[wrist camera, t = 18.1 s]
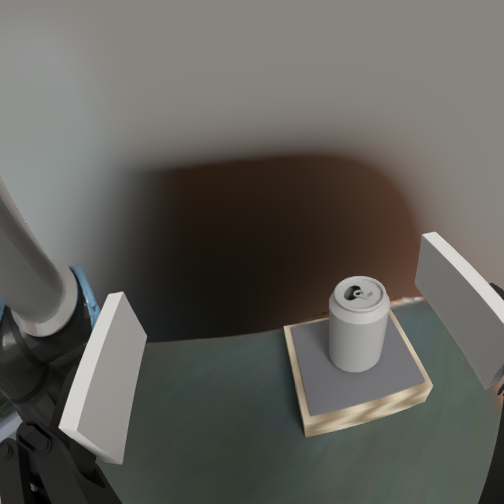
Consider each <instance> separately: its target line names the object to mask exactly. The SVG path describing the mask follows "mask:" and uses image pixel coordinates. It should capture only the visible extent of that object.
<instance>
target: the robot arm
mask: <svg viewBox="0 0 504 504" xmlns="http://www.w3.org/2000/svg"><path fill="white" fill-rule="evenodd" d="M415 285H416V286H417V288H418V289H419V290H420V292H421V293H422V294H423V296H424V297H425V299H426V300H427V301H428V303H429V304H430V305H431V307H432V308H433V309H434V311H435V312H436V314H437V315H438V317H439V318H440V319H441V321H442V322H443V324H444V325H445V327H446V328H447V330H448V331H449V332H450V334H451V335H452V337H453V338H454V340H455V341H456V343H457V344H458V346H459V348H460V349H461V351H462V352H463V354H464V355H465V357H466V359H467V360H468V362H469V363H470V365H471V367H472V368H473V370H474V372H475V373H476V375H477V377H478V378H479V380H480V382H481V383H482V385H483V387H484V389H485V390H486V389H487V388H489V387H491V386H492V385H494V384H496V383H497V382H499V381H500V379H501V378H502V376H503V375H504V291H503V290H502V289H501V288H500V287H498V286H496V285H495V284H493V283H490V284H488V283H487V282H486V281H485V280H484V279H483V278H482V277H481V276H480V274H478V273H477V271H476V270H475V269H474V268H473V267H472V266H471V265H470V264H469V263H468V262H467V261H466V260H465V259H464V258H463V257H462V256H461V255H460V254H459V253H458V252H457V251H455V250H454V249H453V248H452V247H451V246H450V245H449V244H448V243H447V242H446V241H445V240H444V239H443V238H441V237H440V236H439V235H438V234H437V233H436V232H432V233H428V234H423V235H422V240H421V248H420V254H419V261H418V267H417V274H416V279H415ZM146 338H147V335H146V334H145V332H144V330H143V328H142V326H141V325H140V323H139V321H138V319H137V317H136V315H135V313H134V312H133V310H132V308H131V306H130V304H129V302H128V300H127V298H126V296H125V294H124V292H119V293H113V294H109V295H108V297H107V299H106V301H105V303H104V306H103V308H102V310H100V308H99V306H98V304H97V301H96V299H95V296H94V294H93V292H92V289H91V287H90V284H89V282H88V280H87V277H86V275H85V273H84V271H83V269H82V267H81V266H80V265H74V266H69V267H67V266H66V265H65V264H64V263H62V262H60V261H57V260H54V259H49V257H48V256H47V254H46V253H45V251H44V250H43V248H42V247H41V245H40V244H39V242H38V241H37V240H36V238H35V236H34V235H33V233H32V232H31V230H30V228H29V227H28V225H27V223H26V222H25V220H24V218H23V217H22V215H21V214H20V212H19V210H18V208H17V207H16V205H15V203H14V201H13V200H12V198H11V196H10V194H9V192H8V190H7V189H6V187H5V185H4V183H3V181H2V179H1V177H0V392H1V393H2V394H3V395H4V396H5V397H6V398H7V399H8V400H9V401H11V402H12V404H13V406H14V407H15V409H16V411H17V412H18V414H19V416H20V417H21V419H22V421H23V422H22V423H21V424H20V426H19V427H18V429H17V433H16V441H15V440H13V439H11V438H6V439H5V440H3V441H2V442H1V443H0V500H1V504H122V503H121V501H120V500H119V498H118V497H117V495H116V494H115V492H114V490H113V489H112V487H111V486H110V484H109V482H108V481H107V479H106V478H105V476H104V474H103V472H102V471H101V469H100V467H99V466H98V465H97V464H96V463H95V461H96V457H98V458H99V459H101V460H102V461H104V462H105V463H113V464H122V463H123V456H124V449H125V443H126V437H127V431H128V425H129V419H130V413H131V408H132V403H133V398H134V392H135V388H136V383H137V378H138V373H139V369H140V364H141V360H142V355H143V351H144V346H145V342H146ZM86 342H88V344H87V346H86V349H85V351H84V354H83V357H82V359H81V362H80V365H79V366H73V368H72V369H71V370H70V372H69V373H68V374H67V373H66V372H64V371H62V370H60V369H59V368H57V367H56V366H54V365H52V364H50V362H52V361H53V360H55V359H57V358H59V357H61V356H63V355H64V354H66V353H68V352H70V351H72V350H74V349H75V348H77V347H79V346H81V345H83V344H84V343H86ZM503 390H504V384H503V385H502V386H501V388H500V389H499V391H498V394H497V395H500V394H501V392H502V391H503ZM503 396H504V394H503ZM30 483H31V484H32V485H34V488H35V489H34V491H32V490H31V485H30ZM478 504H504V400H503V407H502V414H501V420H500V426H499V431H498V436H497V441H496V445H495V450H494V454H493V458H492V462H491V465H490V469H489V472H488V476H487V479H486V482H485V485H484V488H483V491H482V494H481V497H480V500H479V503H478Z"/></svg>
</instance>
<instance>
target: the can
mask: <svg viewBox="0 0 504 504" xmlns="http://www.w3.org/2000/svg"><path fill="white" fill-rule="evenodd" d="M389 308H390V301H389V297H388V295H387V294H386V291H385V288H384V287H383V285H382V284H381V283H380V282H378V281H377V280H375V279H372V278H370V277H365V276H354V277H350V278H347V279H345V280H343V281H341V282H340V283H339V284H338V285H337V286H336V288H335V290H334V292H333V293H332V295H331V297H330V299H329V356H330V358H331V361H332V362H333V363H334V364H335V366H336V367H338V368H340V369H342V370H344V371H348V372H362V371H365V370H368V369H370V368H371V367H373V366H374V365H375V364H376V363H377V362H378V360H379V358H380V355H381V351H382V346H383V341H384V336H385V331H386V325H387V320H388V314H389Z"/></svg>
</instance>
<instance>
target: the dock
mask: <svg viewBox="0 0 504 504" xmlns="http://www.w3.org/2000/svg"><path fill="white" fill-rule="evenodd" d="M284 332H285V339H286V345H287V350H288V355H289V359H290V364H291V369H292V374H293V379H294V383H295V388H296V393H297V398H298V403H299V408H300V413H301V418H302V423H303V428H304V433H305V437H310V436H315V435H319V434H324V433H328V432H332V431H336V430H340V429H344V428H348V427H352V426H355V425H359V424H362V423H365V422H369V421H372V420H375V419H378V418H381V417H384V416H387V415H390V414H393V413H396V412H399V411H402V410H404V409H407V408H410V407H412V406H415V405H417V404H420V403H422V402H425V400H426V398H427V396H428V394H429V393H430V391H431V389H432V387H433V385H432V383H431V381H430V379H429V377H428V375H427V373H426V371H425V369H424V367H423V366H422V364H421V362H420V360H419V358H418V356H417V354H416V353H415V351H414V349H413V347H412V345H411V344H410V342H409V340H408V338H407V337H406V335H405V333H404V331H403V330H402V328H401V326H400V325H399V323H398V321H397V319H396V318H395V316H394V314H393V313H392V311H391V309H390V308H389V314H388V320H387V325H386V331H385V336H384V341H383V346H382V351H381V355H380V358H379V360H378V362H377V363H376V364H375V365H374V366H373V367H371V368H370V369H368V370H365V371H362V372H348V371H344V370H342V369H340V368H338V367H336V366H335V364H334V363H333V362H332V361H331V358H330V356H329V317H326V318H322V319H317V320H313V321H308V322H303V323H298V324H293V325H288V326H284Z"/></svg>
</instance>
